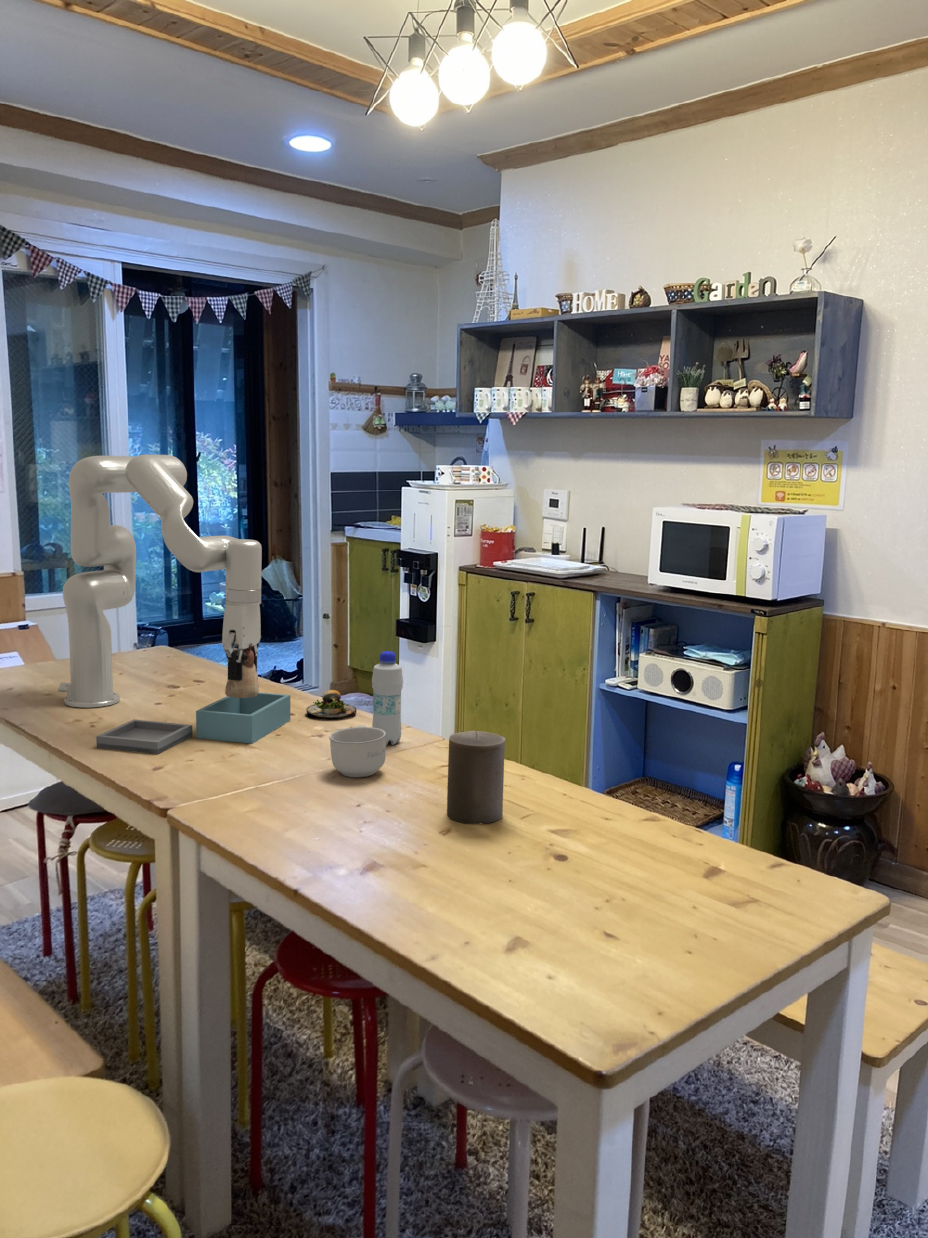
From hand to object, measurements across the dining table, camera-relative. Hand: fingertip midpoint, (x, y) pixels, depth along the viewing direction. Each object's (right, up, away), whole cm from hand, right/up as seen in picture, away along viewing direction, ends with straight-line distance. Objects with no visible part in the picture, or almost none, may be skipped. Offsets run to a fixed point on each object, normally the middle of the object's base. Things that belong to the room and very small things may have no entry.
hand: (242, 675), depth 219 cm
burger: (+18, -11, +16) cm, 26 cm away
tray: (-18, -13, -10) cm, 25 cm away
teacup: (+29, -17, -25) cm, 42 cm away
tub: (0, -12, +2) cm, 12 cm away
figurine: (0, -4, +1) cm, 4 cm away
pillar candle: (+51, -22, -48) cm, 73 cm away
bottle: (+32, -14, -6) cm, 36 cm away
